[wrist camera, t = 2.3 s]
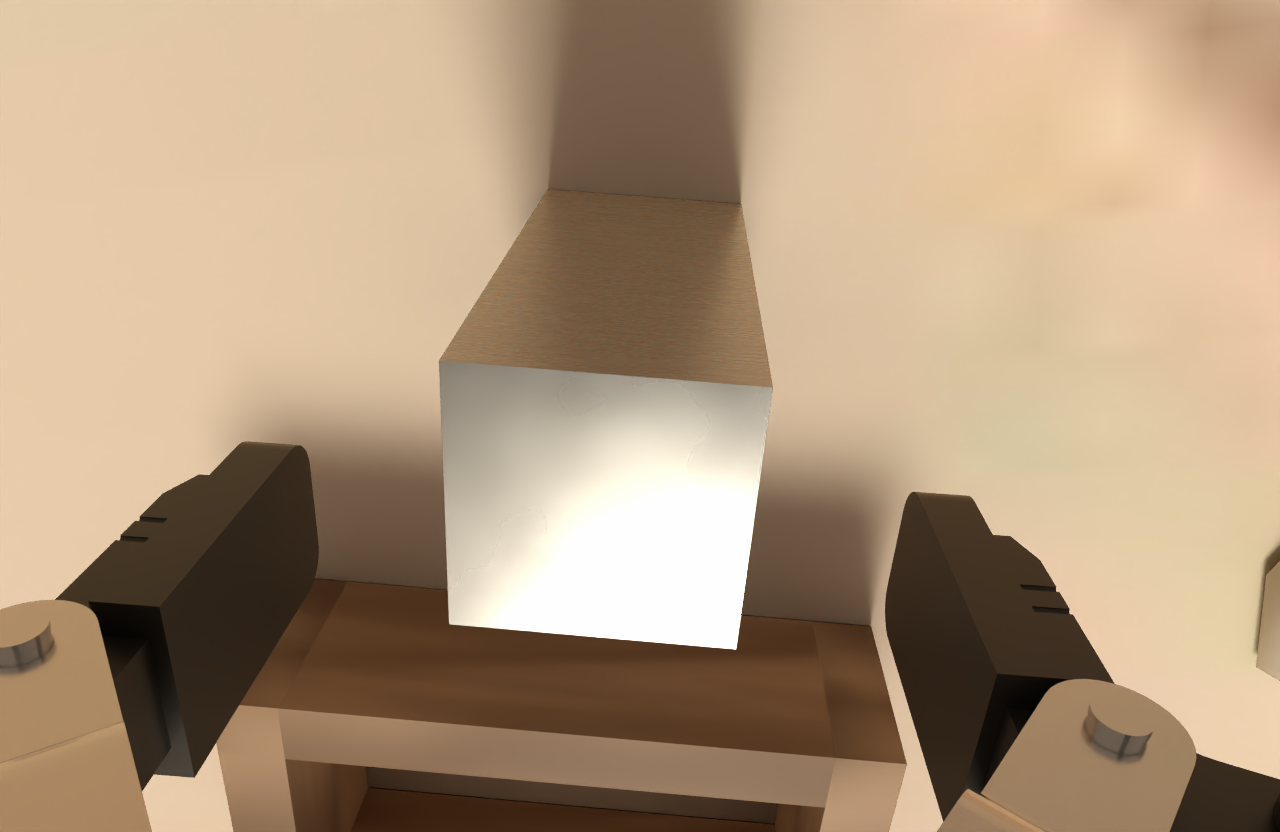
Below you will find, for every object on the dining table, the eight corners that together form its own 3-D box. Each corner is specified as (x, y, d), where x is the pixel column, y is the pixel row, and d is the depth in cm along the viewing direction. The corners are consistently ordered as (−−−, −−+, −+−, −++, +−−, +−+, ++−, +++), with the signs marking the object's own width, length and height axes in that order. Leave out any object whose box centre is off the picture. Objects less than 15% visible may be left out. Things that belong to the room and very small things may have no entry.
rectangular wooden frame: (290, 576, 24) (208, 702, 20) (870, 626, 24) (907, 764, 20) (322, 818, 28) (259, 963, 24) (818, 863, 28) (838, 1019, 24)
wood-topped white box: (547, 189, 19) (438, 360, 11) (741, 204, 19) (772, 387, 11) (544, 366, 21) (449, 624, 13) (721, 380, 21) (736, 648, 13)
